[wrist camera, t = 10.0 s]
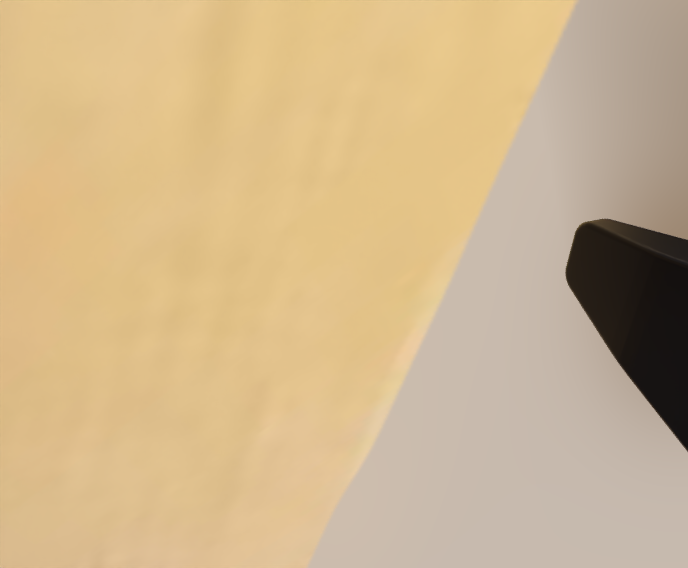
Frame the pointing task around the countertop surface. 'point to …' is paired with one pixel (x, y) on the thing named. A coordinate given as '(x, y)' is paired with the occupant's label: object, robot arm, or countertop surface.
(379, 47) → the countertop surface
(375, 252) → the countertop surface
